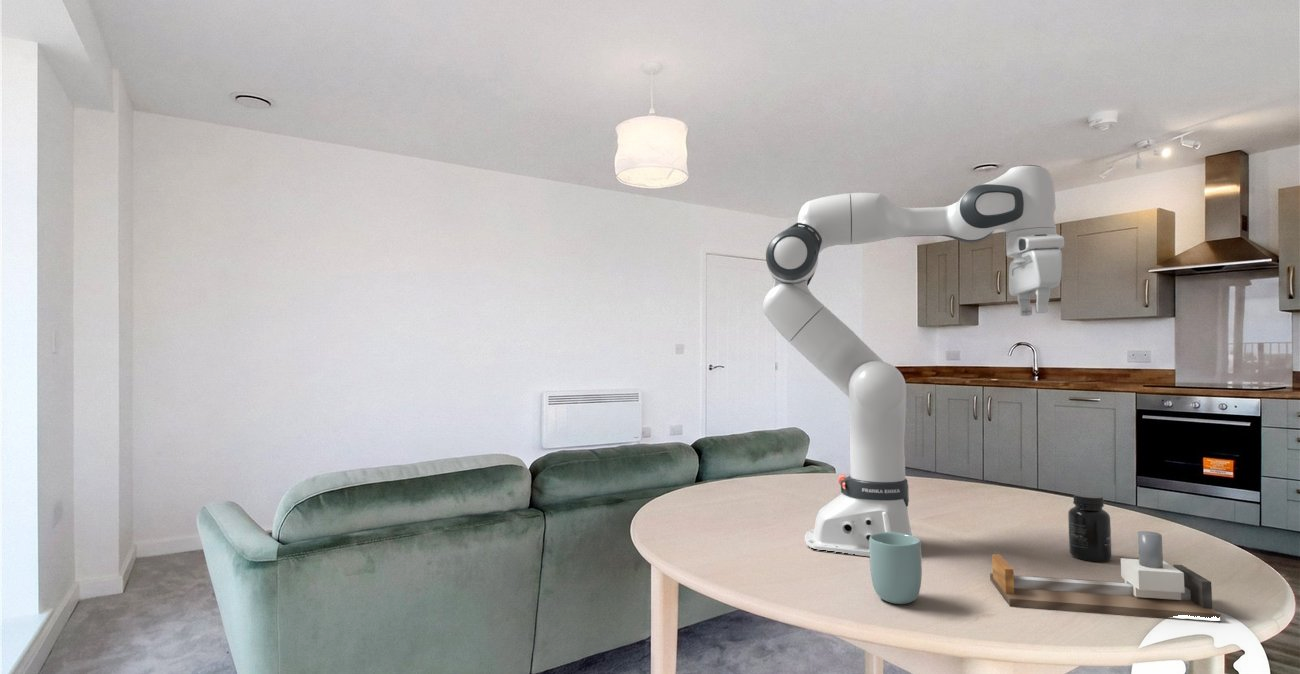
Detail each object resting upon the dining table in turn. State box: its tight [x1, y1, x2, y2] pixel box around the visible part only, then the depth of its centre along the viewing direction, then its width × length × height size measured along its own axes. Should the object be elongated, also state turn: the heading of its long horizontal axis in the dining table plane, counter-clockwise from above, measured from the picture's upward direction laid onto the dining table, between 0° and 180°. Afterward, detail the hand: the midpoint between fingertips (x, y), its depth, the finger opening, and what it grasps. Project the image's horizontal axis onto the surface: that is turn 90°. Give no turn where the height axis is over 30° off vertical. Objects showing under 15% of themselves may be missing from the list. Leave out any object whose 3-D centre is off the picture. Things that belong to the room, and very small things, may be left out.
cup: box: [869, 532, 923, 605], centre depth 104 cm, size 8×8×10 cm
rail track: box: [989, 553, 1222, 619], centre depth 103 cm, size 28×12×5 cm, turn 75°
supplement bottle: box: [1067, 493, 1113, 563], centre depth 124 cm, size 7×7×12 cm
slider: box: [1120, 530, 1185, 600], centre depth 101 cm, size 6×6×10 cm
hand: (1033, 314), depth 127 cm, fingers open, 8 cm apart
